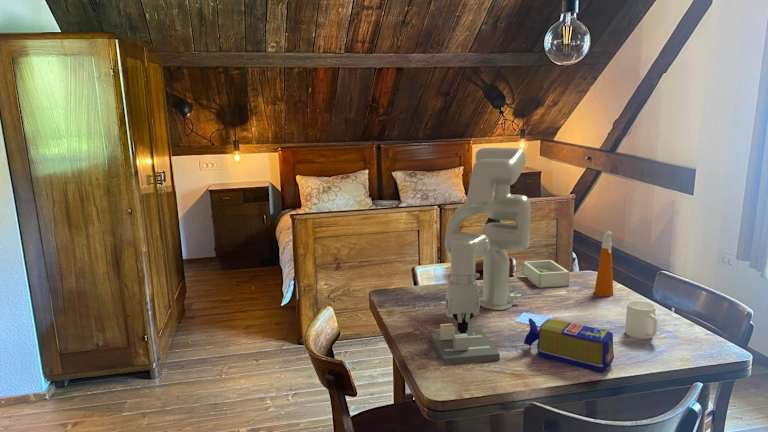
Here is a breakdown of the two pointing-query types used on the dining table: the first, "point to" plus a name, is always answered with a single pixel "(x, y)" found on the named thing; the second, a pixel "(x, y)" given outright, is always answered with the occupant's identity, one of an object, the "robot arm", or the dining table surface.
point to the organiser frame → (546, 279)
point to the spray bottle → (605, 268)
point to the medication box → (542, 270)
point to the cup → (641, 320)
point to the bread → (573, 344)
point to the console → (477, 350)
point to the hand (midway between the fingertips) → (462, 332)
